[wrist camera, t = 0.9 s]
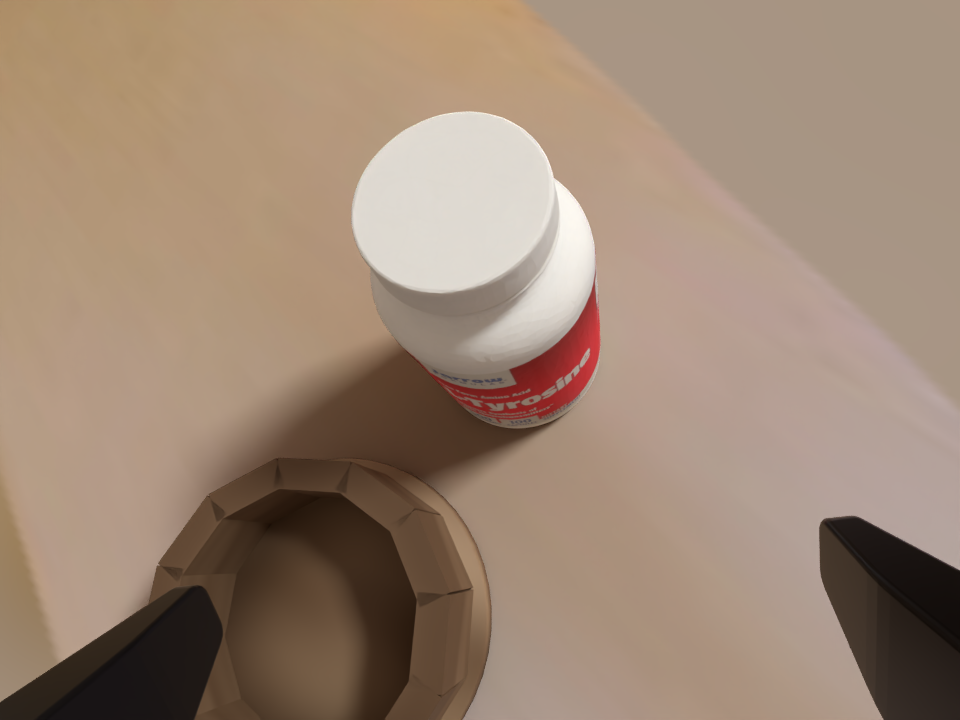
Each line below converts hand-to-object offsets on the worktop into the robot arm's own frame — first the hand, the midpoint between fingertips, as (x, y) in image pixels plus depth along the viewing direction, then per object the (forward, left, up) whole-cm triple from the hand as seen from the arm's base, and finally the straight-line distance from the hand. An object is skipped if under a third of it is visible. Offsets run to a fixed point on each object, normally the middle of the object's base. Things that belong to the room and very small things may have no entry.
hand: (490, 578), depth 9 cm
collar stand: (-2, +8, -13) cm, 15 cm away
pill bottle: (+8, +2, -13) cm, 15 cm away
